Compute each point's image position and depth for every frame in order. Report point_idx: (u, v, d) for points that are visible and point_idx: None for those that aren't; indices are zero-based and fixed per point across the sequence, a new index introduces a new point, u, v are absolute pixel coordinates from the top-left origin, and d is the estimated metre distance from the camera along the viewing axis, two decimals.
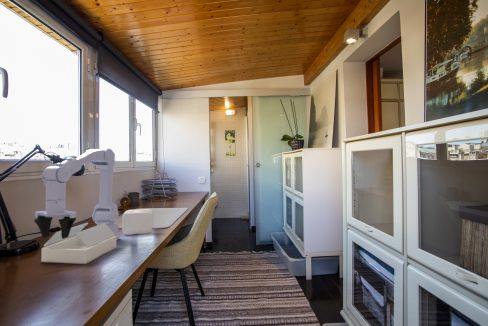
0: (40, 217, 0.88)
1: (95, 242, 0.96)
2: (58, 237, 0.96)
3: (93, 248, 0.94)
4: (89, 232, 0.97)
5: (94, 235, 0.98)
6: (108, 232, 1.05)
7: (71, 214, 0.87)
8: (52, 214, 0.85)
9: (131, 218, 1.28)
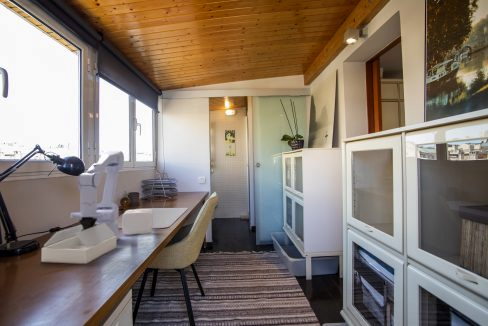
0: None
1: (95, 242, 0.96)
2: (58, 237, 0.96)
3: (93, 248, 0.94)
4: (89, 232, 0.97)
5: (94, 235, 0.98)
6: (108, 232, 1.05)
7: (103, 215, 0.98)
8: (86, 215, 0.97)
9: (131, 218, 1.28)
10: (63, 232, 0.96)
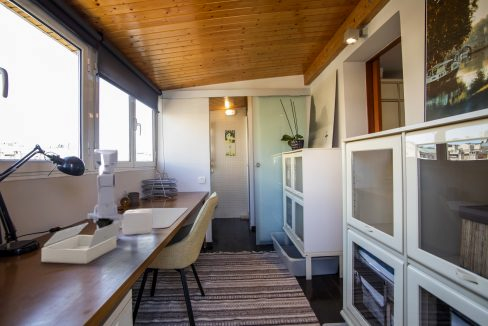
0: None
1: (97, 243, 0.95)
2: (58, 237, 0.96)
3: (93, 248, 0.94)
4: (104, 230, 0.96)
5: (103, 235, 0.97)
6: (114, 232, 1.05)
7: (120, 217, 0.98)
8: (104, 216, 0.96)
9: (131, 218, 1.28)
10: (63, 232, 0.96)
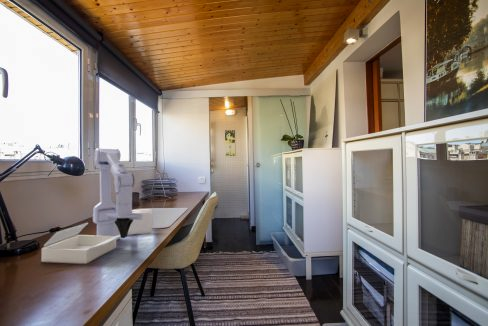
0: (110, 219, 0.98)
1: (98, 245, 0.95)
2: (58, 237, 0.96)
3: (93, 248, 0.94)
4: (112, 240, 0.96)
5: (108, 241, 0.97)
6: (117, 236, 1.05)
7: (139, 216, 0.97)
8: (123, 216, 0.96)
9: None
10: (63, 232, 0.96)
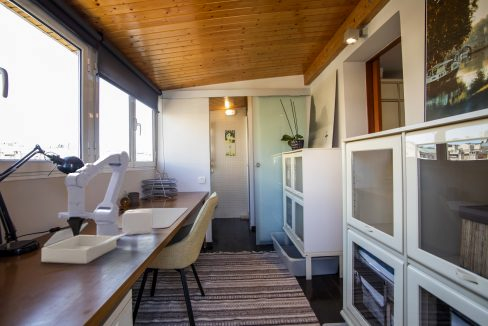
0: None
1: (98, 245, 0.95)
2: (58, 237, 0.97)
3: (93, 248, 0.94)
4: (112, 240, 0.96)
5: (108, 241, 0.97)
6: (117, 236, 1.05)
7: (90, 215, 0.99)
8: (74, 215, 0.98)
9: (131, 218, 1.28)
10: (63, 232, 0.96)
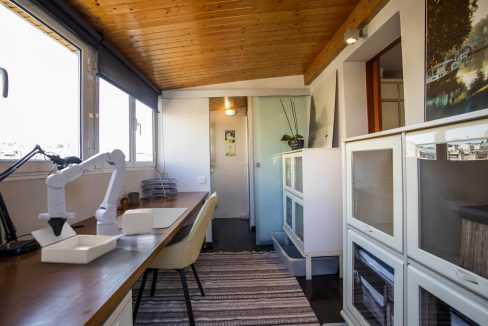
0: None
1: (98, 245, 0.95)
2: (47, 236, 0.97)
3: (93, 248, 0.94)
4: (112, 240, 0.96)
5: (108, 241, 0.97)
6: (117, 236, 1.05)
7: (70, 215, 1.00)
8: (54, 216, 0.99)
9: (131, 218, 1.28)
10: (43, 231, 0.97)
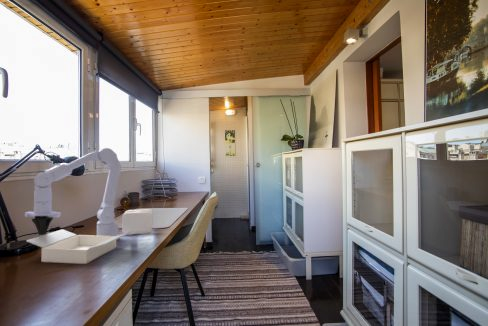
0: None
1: (98, 245, 0.95)
2: (44, 240, 0.97)
3: (93, 248, 0.94)
4: (112, 240, 0.96)
5: (108, 241, 0.97)
6: (117, 236, 1.05)
7: (56, 214, 1.00)
8: (39, 214, 0.99)
9: (131, 218, 1.28)
10: (39, 238, 0.97)
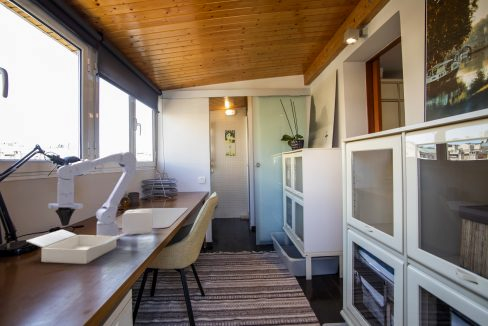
0: None
1: (98, 245, 0.95)
2: (44, 240, 0.97)
3: (93, 248, 0.94)
4: (112, 240, 0.96)
5: (108, 241, 0.97)
6: (117, 236, 1.05)
7: (78, 205, 1.04)
8: (63, 205, 1.02)
9: (131, 218, 1.28)
10: (39, 238, 0.97)
